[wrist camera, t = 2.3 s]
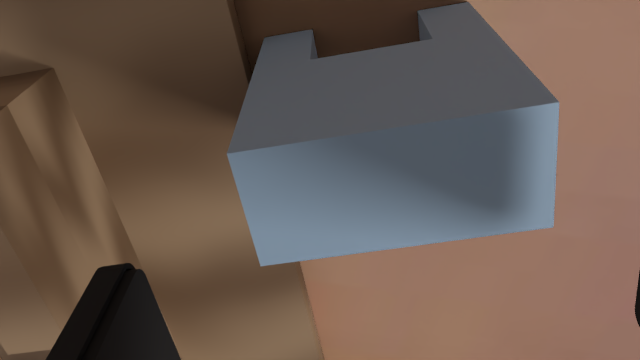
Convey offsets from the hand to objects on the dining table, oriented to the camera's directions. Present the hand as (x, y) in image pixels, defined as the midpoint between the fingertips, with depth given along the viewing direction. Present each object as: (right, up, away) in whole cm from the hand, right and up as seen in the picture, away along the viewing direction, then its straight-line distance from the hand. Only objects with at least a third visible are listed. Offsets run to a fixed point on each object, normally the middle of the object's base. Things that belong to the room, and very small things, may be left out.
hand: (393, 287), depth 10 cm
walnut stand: (-9, -2, +13) cm, 16 cm away
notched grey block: (0, +6, +8) cm, 10 cm away
